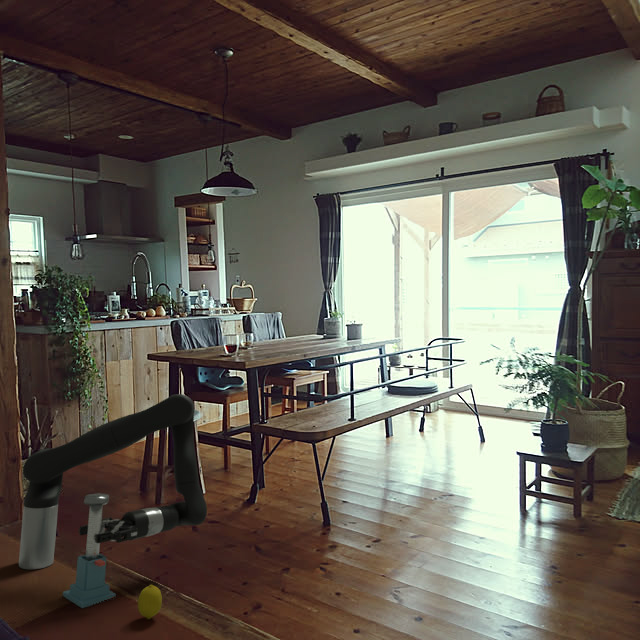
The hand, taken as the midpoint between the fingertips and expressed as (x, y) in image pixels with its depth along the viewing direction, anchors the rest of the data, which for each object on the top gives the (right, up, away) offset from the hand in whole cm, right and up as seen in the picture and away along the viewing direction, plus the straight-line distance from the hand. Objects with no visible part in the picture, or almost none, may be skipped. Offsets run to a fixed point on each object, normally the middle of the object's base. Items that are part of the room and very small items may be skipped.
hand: (87, 535), depth 146 cm
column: (0, -15, 0) cm, 15 cm away
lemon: (+19, -17, -10) cm, 27 cm away
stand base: (0, -16, 0) cm, 16 cm away
